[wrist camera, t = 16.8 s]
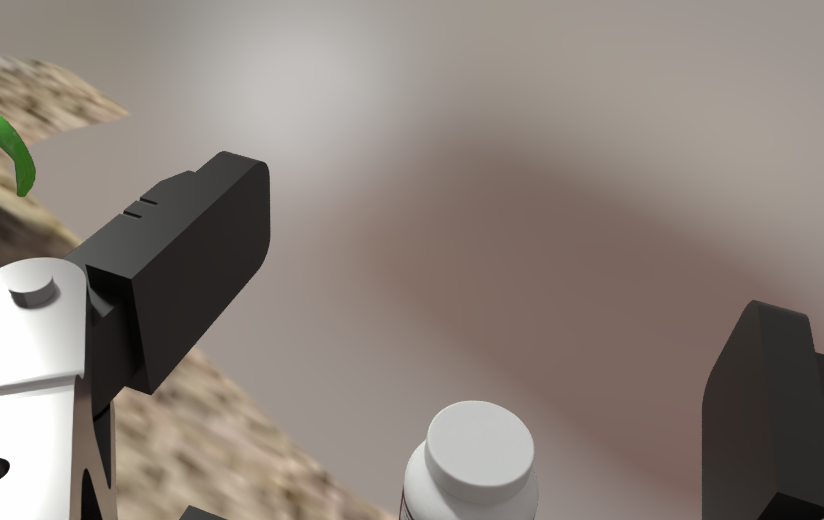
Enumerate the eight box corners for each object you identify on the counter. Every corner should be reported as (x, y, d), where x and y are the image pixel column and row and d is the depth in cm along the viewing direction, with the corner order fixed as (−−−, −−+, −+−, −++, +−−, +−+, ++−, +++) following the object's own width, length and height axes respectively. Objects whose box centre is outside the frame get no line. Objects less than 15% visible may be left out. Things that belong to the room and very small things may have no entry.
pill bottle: (463, 505, 40) (494, 369, 34) (533, 597, 36) (585, 463, 30) (368, 556, 37) (383, 417, 31) (434, 662, 33) (468, 528, 27)
